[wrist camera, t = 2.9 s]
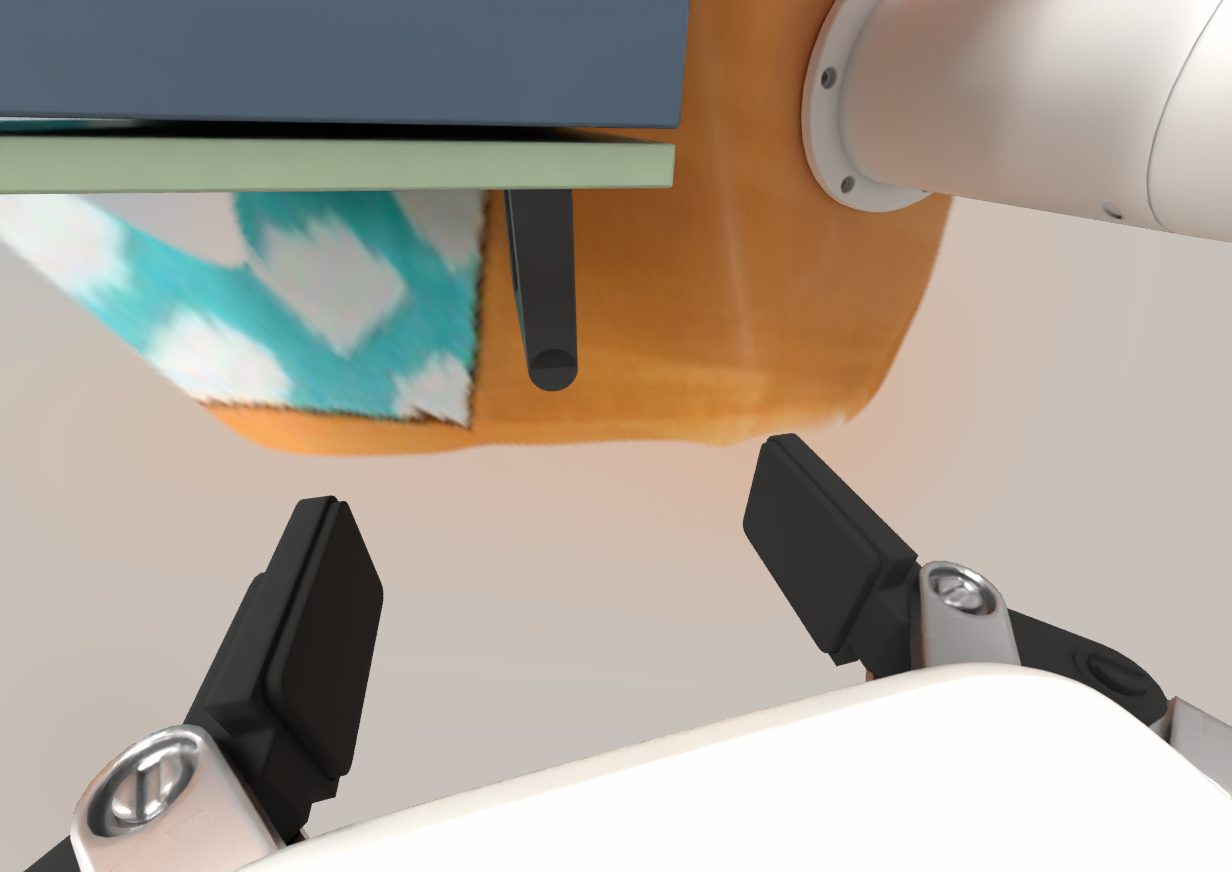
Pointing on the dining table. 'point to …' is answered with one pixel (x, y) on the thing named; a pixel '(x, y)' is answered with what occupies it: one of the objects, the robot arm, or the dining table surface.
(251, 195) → the dining table surface
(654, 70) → the cupboard
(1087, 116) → the robot arm
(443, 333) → the dining table surface
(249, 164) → the door
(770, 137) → the dining table surface
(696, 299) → the dining table surface
